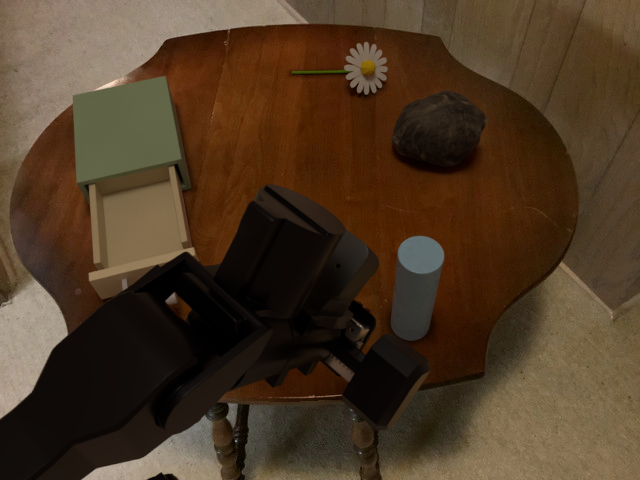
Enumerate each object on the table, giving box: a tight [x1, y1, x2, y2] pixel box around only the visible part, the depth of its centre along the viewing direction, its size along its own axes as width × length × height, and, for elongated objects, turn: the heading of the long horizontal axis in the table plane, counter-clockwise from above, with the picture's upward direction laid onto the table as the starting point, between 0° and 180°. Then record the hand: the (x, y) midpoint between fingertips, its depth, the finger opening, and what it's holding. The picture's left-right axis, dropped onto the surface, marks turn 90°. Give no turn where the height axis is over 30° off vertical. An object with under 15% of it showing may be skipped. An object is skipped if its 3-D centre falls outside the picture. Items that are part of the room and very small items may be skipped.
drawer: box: [88, 164, 200, 306], centre depth 73 cm, size 21×12×4 cm, turn 15°
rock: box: [391, 89, 488, 168], centre depth 80 cm, size 10×11×10 cm
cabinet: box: [72, 75, 192, 207], centre depth 84 cm, size 17×13×6 cm
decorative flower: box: [291, 41, 389, 96], centre depth 92 cm, size 8×6×15 cm
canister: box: [390, 235, 445, 342], centre depth 63 cm, size 4×4×14 cm
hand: (363, 310), depth 54 cm, fingers closed
